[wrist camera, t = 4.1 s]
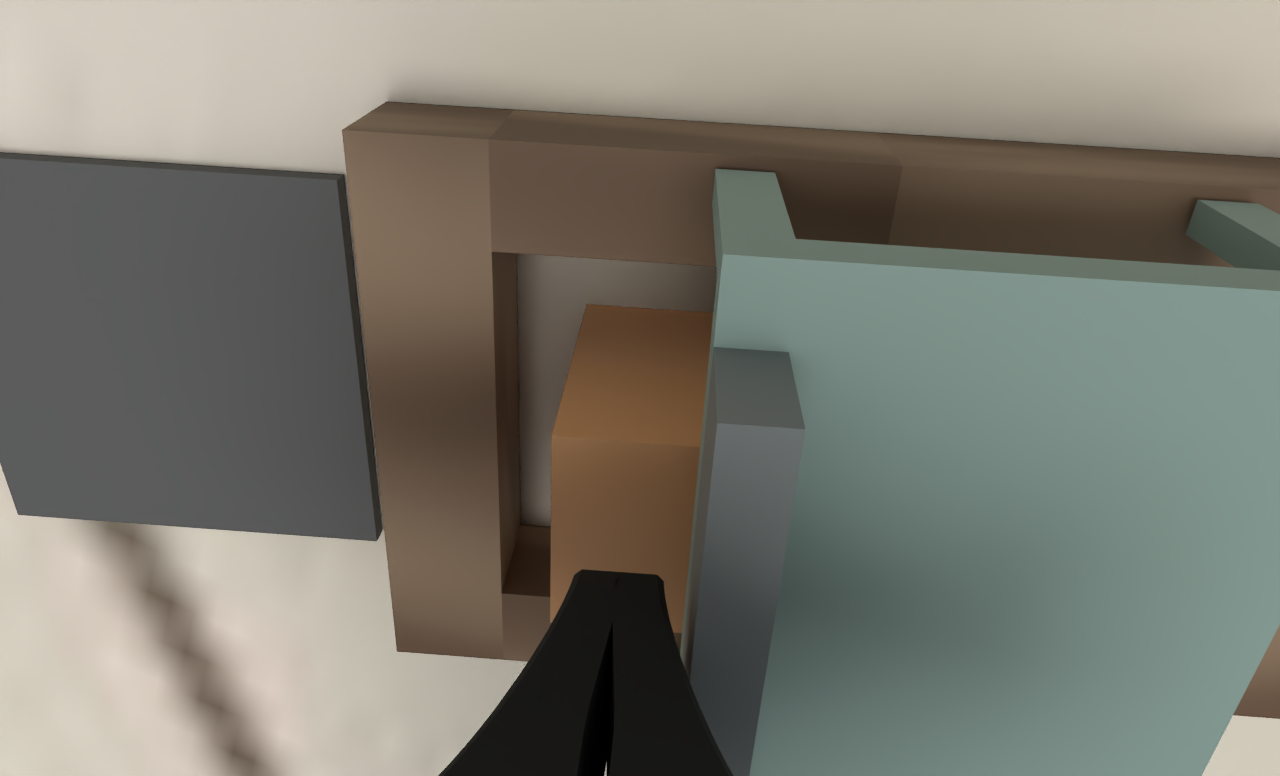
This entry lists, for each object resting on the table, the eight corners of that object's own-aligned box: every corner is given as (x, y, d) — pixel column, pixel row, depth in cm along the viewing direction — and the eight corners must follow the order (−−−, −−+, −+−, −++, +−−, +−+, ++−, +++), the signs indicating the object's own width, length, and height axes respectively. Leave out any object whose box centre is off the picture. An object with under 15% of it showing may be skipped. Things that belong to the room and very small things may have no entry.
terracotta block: (751, 471, 21) (769, 639, 16) (582, 459, 21) (550, 623, 16) (772, 316, 19) (799, 454, 14) (587, 303, 19) (551, 435, 14)
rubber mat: (381, 531, 22) (376, 541, 22) (28, 505, 23) (18, 514, 22) (343, 175, 18) (336, 180, 18) (-92, 146, 18) (-107, 151, 18)
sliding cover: (1064, 702, 20) (1201, 994, 15) (669, 672, 21) (660, 949, 15) (1259, 203, 15) (1588, 377, 9) (715, 168, 15) (729, 317, 10)
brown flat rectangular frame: (1288, 644, 23) (1351, 724, 20) (425, 580, 23) (396, 651, 21) (1537, 174, 17) (1664, 214, 15) (386, 102, 17) (341, 129, 15)
